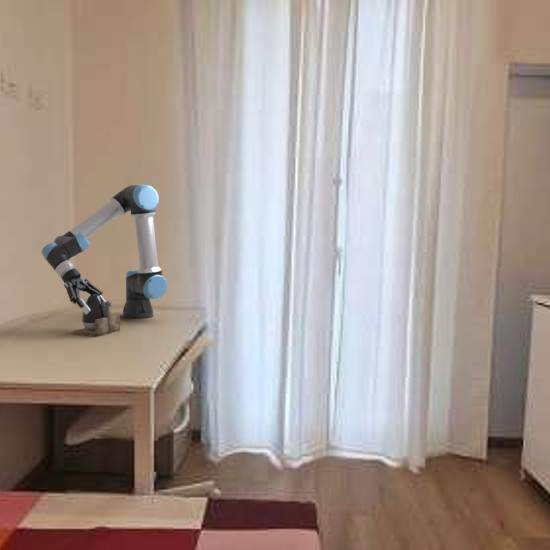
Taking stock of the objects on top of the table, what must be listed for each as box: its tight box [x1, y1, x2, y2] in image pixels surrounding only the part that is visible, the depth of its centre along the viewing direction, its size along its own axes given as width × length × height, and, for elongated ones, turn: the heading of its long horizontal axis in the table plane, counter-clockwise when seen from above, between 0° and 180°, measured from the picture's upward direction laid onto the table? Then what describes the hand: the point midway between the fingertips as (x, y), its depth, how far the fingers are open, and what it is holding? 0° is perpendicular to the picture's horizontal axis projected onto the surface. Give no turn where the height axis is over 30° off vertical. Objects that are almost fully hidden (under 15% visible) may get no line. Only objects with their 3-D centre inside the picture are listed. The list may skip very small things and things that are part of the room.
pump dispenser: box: [81, 294, 106, 330], centre depth 277 cm, size 10×10×15 cm
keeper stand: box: [71, 300, 121, 337], centre depth 277 cm, size 16×14×14 cm
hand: (98, 310), depth 276 cm, fingers open, 13 cm apart
